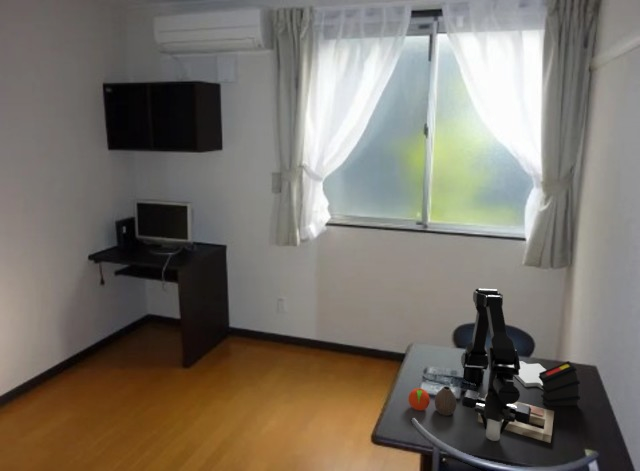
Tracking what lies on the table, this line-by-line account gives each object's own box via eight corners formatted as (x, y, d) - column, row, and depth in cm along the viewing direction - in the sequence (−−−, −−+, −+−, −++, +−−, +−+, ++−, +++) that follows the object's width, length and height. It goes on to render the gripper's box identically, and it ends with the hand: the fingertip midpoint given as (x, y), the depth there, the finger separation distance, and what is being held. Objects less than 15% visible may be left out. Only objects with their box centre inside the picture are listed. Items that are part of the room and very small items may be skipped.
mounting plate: (503, 366, 187) (504, 362, 187) (534, 364, 189) (535, 360, 189) (529, 391, 170) (529, 386, 170) (562, 389, 172) (563, 384, 171)
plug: (483, 438, 143) (485, 414, 141) (485, 429, 147) (488, 406, 145) (499, 443, 141) (502, 419, 139) (502, 434, 145) (505, 410, 143)
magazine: (588, 401, 161) (575, 365, 157) (551, 417, 162) (537, 381, 158) (582, 395, 164) (568, 359, 161) (546, 410, 165) (532, 375, 162)
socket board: (477, 421, 152) (478, 413, 151) (485, 399, 164) (486, 392, 163) (550, 443, 142) (551, 434, 141) (553, 418, 154) (554, 410, 153)
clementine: (428, 418, 153) (430, 398, 152) (406, 414, 155) (408, 395, 153) (429, 404, 161) (430, 385, 159) (408, 401, 162) (409, 382, 161)
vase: (456, 408, 159) (458, 384, 157) (454, 420, 152) (457, 395, 150) (435, 404, 161) (436, 380, 159) (432, 415, 155) (434, 391, 153)
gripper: (460, 389, 137) (455, 436, 141) (530, 407, 129) (523, 457, 132) (468, 371, 147) (464, 416, 151) (534, 388, 138) (527, 435, 142)
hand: (493, 431), depth 144 cm, fingers closed on plug, 4 cm apart
